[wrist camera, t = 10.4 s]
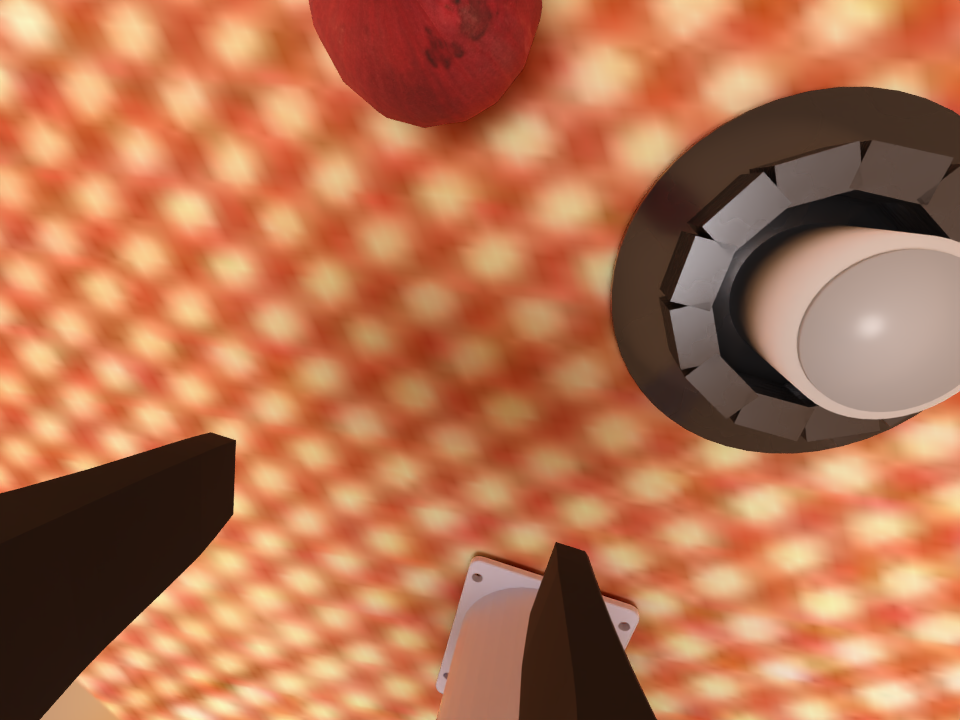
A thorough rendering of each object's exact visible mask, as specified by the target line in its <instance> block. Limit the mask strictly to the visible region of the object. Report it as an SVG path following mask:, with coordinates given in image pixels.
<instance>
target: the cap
mask: <svg viewBox="0 0 960 720" xmlns="http://www.w3.org/2000/svg"><path fill="white" fill-rule="evenodd" d="M729 310H730V316H731V319H732V322H733V325H734V327H735V329H736V331H737V333H738V334H739V336H740V337H741V338H742V340H743V341H744V342H745V343H746V344H747V345H748V346H750V347H751V348H752V349H753V350H754V351H755V352H756V353H758V354H759V355H760V356H761V357H762V358H763V359H764V360H765V361H767V362H768V363H769V364H770V365H771V366H772V367H773V368H775V369H776V370H777V371H778V372H779V373H780V374H781V375H783V376H784V377H785V378H786V379H787V380H788V381H789V382H790V383H792V384H793V385H794V386H795V387H796V388H797V389H798V390H800V391H801V392H802V393H803V394H804V395H805V396H806V397H808V398H809V399H810V400H812V401H813V402H814V403H816V404H817V405H819V406H821V407H823V408H824V409H826V410H829V411H831V412H834V413H836V414H840V415H843V416H847V417H852V418H860V419H888V418H895V417H901V416H905V415H909V414H913V413H917V412H920V411H922V410H925V409H927V408H930V407H932V406H934V405H937V404H939V403H941V402H943V401H945V400H946V399H948V398H950V397H951V396H953V395H954V394H956V393H958V392H959V391H960V242H957V241H954V240H952V239H947V238H943V237H938V236H931V235H923V234H914V233H906V232H898V231H890V230H881V229H873V228H865V227H857V226H848V225H840V224H831V223H811V224H805V225H800V226H796V227H793V228H790V229H787V230H785V231H782V232H780V233H778V234H776V235H774V236H772V237H771V238H769V239H768V240H766V241H765V242H763V243H762V244H761V245H760V246H758V247H757V248H756V249H755V250H754V251H753V252H752V253H751V254H750V255H749V256H748V257H747V259H746V260H745V261H744V263H743V264H742V265H741V267H740V269H739V270H738V272H737V274H736V276H735V279H734V281H733V284H732V287H731V291H730V298H729Z"/></svg>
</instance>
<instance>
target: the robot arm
mask: <svg viewBox="0 0 960 720" xmlns="http://www.w3.org/2000/svg"><path fill="white" fill-rule="evenodd" d="M235 450H236V440H233V439H230V438H227V437H224V436H221V435H217V434H214V433H207V434H203V435H199V436H195V437H191V438H188V439H185V440H181V441H178V442H175V443H171V444H168V445H165V446H162V447H158V448H155V449H152V450H149V451H146V452H143V453H139V454H136V455H133V456H130V457H127V458H123V459H120V460H117V461H114V462H110V463H107V464H104V465H101V466H97V467H94V468H91V469H88V470H84V471H80V472H77V473H73V474H70V475H66V476H63V477H59V478H56V479H52V480H48V481H45V482H41V483H38V484H34V485H31V486H27V487H23V488H20V489H16V490H12V491H8V492H4V493H0V720H40V719H41V718H42V717H43V715H44V714H45V713H46V712H47V711H48V710H49V709H50V707H51V706H52V705H53V704H54V703H55V702H56V700H57V699H58V698H59V697H60V696H61V695H62V694H63V693H64V692H65V690H66V689H67V688H68V687H69V686H70V685H71V684H72V682H73V681H74V680H75V679H76V678H77V677H78V676H79V674H80V673H81V672H82V671H83V670H84V669H85V668H86V667H87V666H88V665H89V664H90V663H91V662H92V661H93V660H94V659H95V658H96V657H97V656H98V655H99V654H100V653H101V651H102V650H103V649H104V648H105V647H106V646H107V645H108V644H110V643H111V642H112V641H113V640H114V639H115V638H116V637H117V636H118V635H119V634H120V633H121V632H122V631H123V630H124V629H125V628H126V627H127V626H128V625H129V624H130V623H131V622H132V621H133V620H134V619H135V618H136V617H137V616H138V615H139V614H140V613H142V612H143V611H144V610H145V609H146V608H147V607H148V606H149V605H150V604H151V603H152V602H153V601H154V600H155V599H156V598H157V597H158V596H159V595H160V594H161V593H162V592H163V591H164V590H165V589H166V588H167V587H168V586H169V585H170V584H171V583H172V582H173V581H174V580H175V579H176V578H178V577H179V576H180V575H181V574H182V573H183V572H184V571H185V570H186V569H187V568H188V567H189V566H190V565H191V564H192V563H193V562H194V561H195V560H196V559H197V558H198V557H199V556H200V555H201V553H202V552H203V551H204V550H205V549H206V548H207V546H208V545H209V544H210V543H211V542H212V540H213V539H214V538H215V537H216V536H217V534H218V533H219V532H220V530H221V529H222V528H223V527H224V525H225V524H226V523H227V521H228V520H229V519H230V518H231V516H232V515H233V506H234V478H235ZM475 573H476V574H480V575H481V576H477V575H475ZM622 622H626V623H625V624H623V623H622ZM638 622H639V613H638V610H637V609H636V608H635V607H634V606H632V605H630V604H627V603H624V602H621V601H618V600H615V599H612V598H609V597H606V596H603V595H602V594H601V591H600V589H599V586H598V583H597V580H596V578H595V575H594V572H593V569H592V566H591V563H590V560H589V557H588V556H587V554H586V552H585V551H582V550H579V549H576V548H573V547H570V546H567V545H564V544H560V543H557V542H556V543H555V546H554V549H553V551H552V554H551V557H550V560H549V562H548V565H547V568H546V571H545V573H544V576H541V575H538V574H535V573H532V572H529V571H526V570H523V569H520V568H517V567H514V566H510V565H507V564H504V563H501V562H498V561H495V560H492V559H489V558H486V557H482V556H476V557H474V558H472V560H471V562H470V566H469V569H468V573H467V576H466V580H465V583H464V587H463V590H462V594H461V597H460V601H459V605H458V608H457V612H456V615H455V619H454V622H453V626H452V629H451V633H450V636H449V640H448V643H447V647H446V650H445V654H444V657H443V661H442V664H441V668H440V671H439V675H438V678H437V682H436V688H437V690H438V691H439V692H440V693H442V694H443V696H442V700H441V704H440V708H439V712H438V715H437V719H436V720H657V719H656V717H655V715H654V713H653V711H652V709H651V707H650V705H649V702H648V700H647V698H646V696H645V694H644V692H643V690H642V688H641V686H640V684H639V682H638V680H637V678H636V675H635V673H634V671H633V669H632V667H631V664H630V662H629V660H628V658H627V655H626V653H625V649H626V647H627V645H628V643H629V640H630V638H631V636H632V634H633V632H634V630H635V628H636V626H637V624H638Z"/></svg>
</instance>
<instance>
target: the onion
mask: <svg viewBox="0 0 960 720" xmlns="http://www.w3.org/2000/svg"><path fill="white" fill-rule="evenodd" d="M309 5H310V10H311V14H312V19H313V24H314V27H315V29H316V32H317V34H318V36H319V38H320V40H321V42H322V43H323V45H324V47H325V49H326V51H327V53H328V54H329V56H330V58H331V60H332V62H333V64H334V65H335V67H336V69H337V71H338V73H339V75H340V76H341V78H342V80H343V82H345V83H346V84H347V85H348V86H349V87H350V88H351V89H353V90H354V91H355V92H356V93H357V94H358V95H360V96H361V97H362V98H363V99H364V100H365V101H366V102H368V103H369V104H370V105H371V106H372V107H373V108H374V109H376V110H377V111H378V112H379V113H381V114H382V115H384V116H385V117H387V118H390V119H394V120H397V121H401V122H405V123H408V124H412V125H416V126H419V127H423V128H426V127H432V126H437V125H442V124H448V123H456V122H464V121H467V120H468V119H470V118H472V117H474V116H475V115H477V114H479V113H480V112H482V111H484V110H485V109H487V108H489V107H490V106H492V105H494V104H495V103H497V102H498V100H499V99H500V98H501V97H502V95H503V94H504V93H505V92H506V90H507V89H508V88H509V86H510V85H511V84H512V83H513V81H514V80H515V79H516V77H517V76H518V75H519V74H520V72H521V71H522V70H523V68H524V66H525V63H526V60H527V57H528V54H529V51H530V48H531V45H532V42H533V39H534V36H535V33H536V30H537V27H538V24H539V21H540V16H541V10H542V0H309Z"/></svg>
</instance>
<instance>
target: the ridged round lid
mask: <svg viewBox="0 0 960 720" xmlns="http://www.w3.org/2000/svg"><path fill="white" fill-rule="evenodd" d="M811 223H831V224H840V225H848V226H857V227H865V228H873V229H881V230H890V231H898V232H906V233H914V234H923V235H931V236H938V237H943V238H947V239H952V240H954V241H957V242H960V116H959V115H958V114H956V113H955V112H954V111H952V110H950V109H948V108H945V107H943V106H941V105H939V104H937V103H935V102H933V101H930V100H928V99H926V98H922V97H919V96H915V95H912V94H908V93H905V92H901V91H896V90H889V89H881V88H873V87H836V88H829V89H822V90H815V91H808V92H804V93H800V94H796V95H793V96H789V97H785V98H781V99H778V100H775V101H773V102H770V103H768V104H765V105H763V106H760V107H758V108H755V109H753V110H750V111H748V112H746V113H744V114H742V115H740V116H738V117H736V118H734V119H732V120H731V121H729V122H727V123H725V124H723V125H721V126H719V127H717V128H716V129H715V130H713V131H712V132H710V133H709V134H707V135H706V136H704V137H703V138H702V139H700V140H699V141H697V142H696V143H694V144H693V145H692V146H691V147H690V148H689V149H687V150H686V151H685V152H684V153H683V154H682V155H680V156H679V157H678V158H677V159H676V160H675V161H674V162H673V163H672V164H671V165H670V166H669V167H668V168H667V169H666V170H665V171H664V172H663V174H662V175H661V176H660V177H659V178H658V179H657V180H656V181H655V182H654V184H653V185H652V187H651V188H650V189H649V191H648V192H647V194H646V195H645V196H644V198H643V199H642V201H641V202H640V204H639V205H638V207H637V209H636V211H635V213H634V214H633V216H632V218H631V220H630V222H629V223H628V226H627V228H626V231H625V233H624V236H623V238H622V241H621V243H620V246H619V249H618V253H617V257H616V260H615V264H614V268H613V276H612V284H611V314H612V321H613V327H614V332H615V336H616V339H617V342H618V346H619V349H620V352H621V355H622V358H623V360H624V362H625V364H626V366H627V368H628V370H629V373H630V374H631V376H632V377H633V379H634V380H635V382H636V383H637V385H638V386H639V388H640V389H641V391H642V392H643V393H644V394H645V395H646V396H647V398H648V399H649V400H650V401H651V402H652V403H653V404H654V405H655V406H656V407H657V408H658V409H659V410H660V411H662V412H663V413H664V414H665V415H666V416H667V417H669V418H670V419H671V420H673V421H674V422H676V423H677V424H679V425H680V426H682V427H683V428H685V429H687V430H689V431H691V432H693V433H695V434H697V435H699V436H701V437H703V438H705V439H708V440H711V441H713V442H716V443H719V444H722V445H725V446H729V447H733V448H738V449H742V450H746V451H755V452H764V453H802V452H813V451H820V450H825V449H830V448H835V447H841V446H844V445H848V444H851V443H854V442H858V441H861V440H864V439H867V438H870V437H872V436H874V435H877V434H879V433H882V432H884V431H887V430H889V429H891V428H893V427H895V426H897V425H899V424H901V423H902V422H904V421H906V420H908V419H910V418H912V417H914V416H915V415H917V414H918V413H920V412H921V411H920V412H917V413H913V414H909V415H905V416H901V417H895V418H888V419H860V418H852V417H847V416H843V415H840V414H836V413H834V412H831V411H829V410H826V409H824V408H823V407H821V406H819V405H817V404H816V403H814V402H813V401H812V400H810V399H809V398H808V397H806V396H805V395H804V394H803V393H802V392H801V391H800V390H798V389H797V388H796V387H795V386H794V385H793V384H792V383H790V382H789V381H788V380H787V379H786V378H785V377H784V376H783V375H781V374H780V373H779V372H778V371H777V370H776V369H775V368H773V367H772V366H771V365H770V364H769V363H768V362H767V361H765V360H764V359H763V358H762V357H761V356H760V355H759V354H758V353H756V352H755V351H754V350H753V349H752V348H751V347H750V346H748V345H747V344H746V343H745V342H744V341H743V340H742V338H741V337H740V336H739V334H738V333H737V331H736V329H735V327H734V325H733V322H732V319H731V316H730V310H729V298H730V291H731V287H732V284H733V281H734V279H735V276H736V274H737V272H738V270H739V269H740V267H741V265H742V264H743V263H744V261H745V260H746V259H747V257H748V256H749V255H750V254H751V253H752V252H753V251H754V250H755V249H756V248H757V247H758V246H760V245H761V244H762V243H763V242H765V241H766V240H768V239H769V238H771V237H772V236H774V235H776V234H778V233H780V232H782V231H785V230H787V229H790V228H793V227H796V226H800V225H805V224H811ZM922 411H923V410H922Z"/></svg>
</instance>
